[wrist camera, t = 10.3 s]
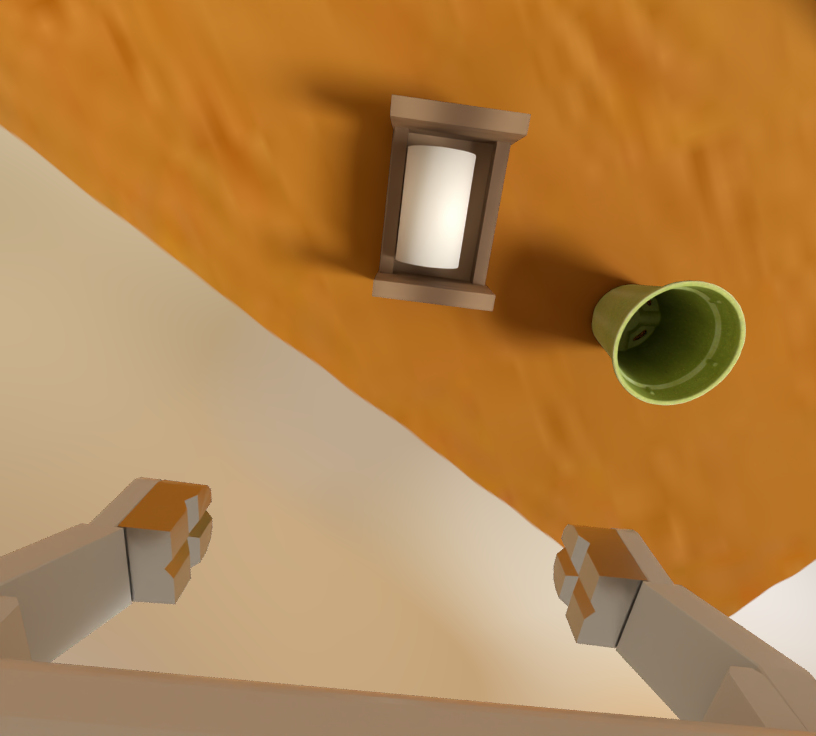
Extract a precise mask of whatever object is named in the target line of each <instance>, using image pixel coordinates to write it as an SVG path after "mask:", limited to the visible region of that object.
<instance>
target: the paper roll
mask: <svg viewBox="0 0 816 736" xmlns="http://www.w3.org/2000/svg"><path fill="white" fill-rule="evenodd" d="M475 160H476V155H475V154H473V153H470V152H466V151H462V150H457V149H452V148H447V147H439V146H425V145H412V146H408V152H407V161H406V170H405V179H404V188H403V196H402V205H401V214H400V223H399V232H398V241H397V250H396V260H397V261H400V262H404V263H408V264H413V265H418V266H423V267H431V268H446V269H454V268H458V266H459V259H460V253H461V247H462V241H463V234H464V228H465V222H466V216H467V209H468V203H469V197H470V191H471V184H472V178H473V172H474V166H475Z"/></svg>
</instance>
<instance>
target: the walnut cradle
mask: <svg viewBox="0 0 816 736" xmlns="http://www.w3.org/2000/svg"><path fill="white" fill-rule="evenodd" d="M530 116H531V114H525V113H518V112H511V111H504V110H497V109H490V108H483V107H476V106H469V105H462V104H455V103H448V102H441V101H434V100H427V99H420V98H413V97H406V96H399V95H392V100H391V110H390V118H391V122H392V127H393V139H392V149H391V159H390V169H389V178H388V188H387V198H386V208H385V218H384V227H383V237H382V247H381V257H380V266H379V271H378V273H377V275H376V276H375V278H374V282H373V293H372V296H375V297H383V298H391V299H399V300H407V301H415V302H423V303H431V304H439V305H446V306H454V307H462V308H470V309H478V310H486V311H493V307H494V301H495V296H496V295H495V294H494V293H493V292H492V291H491V290H490V289H489V288H488V287H487V286H486V285H485V281H486V275H487V270H488V265H489V259H490V254H491V248H492V243H493V237H494V232H495V227H496V221H497V216H498V210H499V205H500V199H501V194H502V189H503V183H504V178H505V172H506V167H507V161H508V156H509V151H510V145H512V144H513V143H515V142H517V141H518V140H520V139H521V138H523V137H525V136H526V135H527V132H528V126H529V121H530ZM412 145H425V146H439V147H447V148H452V149H457V150H462V151H466V152H470V153H473V154H475V155H476V160H475V166H474V172H473V178H472V184H471V191H470V197H469V203H468V209H467V216H466V222H465V228H464V234H463V241H462V247H461V253H460V259H459V266H458V268H454V269H446V268H431V267H423V266H418V265H413V264H408V263H404V262H400V261H397V260H396V250H397V241H398V232H399V223H400V214H401V205H402V196H403V188H404V179H405V170H406V161H407V152H408V146H412Z"/></svg>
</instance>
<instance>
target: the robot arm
mask: <svg viewBox="0 0 816 736" xmlns="http://www.w3.org/2000/svg"><path fill="white" fill-rule="evenodd" d="M211 502H212V499H211V489H210V488H209V486H208V485H201V484H192V483H185V482H178V481H170V480H161V479H152V478H143V477H140V478H137V479H135V480H133V481H132V482H131V483H130V484H129V486H127V487H126V488H125V489H124V490H123V491H122V492H121V493H120V494H119V495H118V496H117V497H116V498H115V499H114V500H113V501H112V502H111V503H110V504H109V505H108V506H107V507H106V508H105V509H104V510H103V511H102V512H101V513H100V514H99V515H98V516H96V517H95V518H94V519H93V521H92V522H90V523H89V524H79V525H76V526H74V527H71V528H69V529H67V530H64V531H62V532H59V533H57V534H54V535H52V536H50V537H47V538H45V539H43V540H40V541H38V542H35V543H33V544H30V545H28V546H26V547H23V548H21V549H18V550H16V551H13V552H11V553H9V554H6V555H4V556H2V557H0V736H816V680H815V679H814V677H813V676H812V675H811V674H810V673H809V672H807V670H805V669H804V668H802V667H801V666H799V665H798V664H796V663H795V662H793V661H792V660H790V659H789V658H788V657H786V656H784V655H783V654H782V653H780V652H779V651H777V650H776V649H774V648H773V647H771V646H770V645H768V644H767V643H765V642H764V641H763V640H761V639H760V638H758V637H757V636H755V635H754V634H752V633H751V632H749V631H748V630H746V629H745V628H743V627H742V626H740V625H739V624H738V623H736V622H735V621H733V620H732V619H730V618H729V617H727V616H726V615H724V614H723V613H721V612H720V611H718V610H717V609H716V608H714V607H713V606H711V605H710V604H708V603H707V602H705V601H704V600H702V599H701V598H699V597H698V596H696V595H695V594H694V593H692V592H691V591H689V590H688V589H686V588H685V587H683V586H682V585H675V584H674V583H673V582H672V580H671V579H670V578H669V576H668V575H667V573H666V572H665V571H664V569H663V568H662V566H661V565H660V564H659V562H658V561H657V559H656V558H655V556H654V555H653V554H652V552H651V551H650V549H649V548H648V547H647V545H646V544H645V542H644V541H643V540H642V538H641V537H640V535H639V534H638V533H637V532H635V531H634V530H630V529H618V528H610V529H608V528H598V527H589V526H579V525H569V524H568V525H567V526H566V528H565V529H564V532H563V535H562V538H561V539H562V541H563V543H564V545H565V548H564V549H562V550H561V551H560V552H559V553H557V555H556V559H555V563H554V583H555V588H556V591H557V594H558V597H559V598H560V599H561V600H562V601H563V602H564V603H565V604H566V605H567V606H568V609H567V612H566V618H567V620H568V623H569V625H570V628H571V631H572V633H573V636H574V638H575V641H576V643H579V644H587V645H596V646H603V647H611V648H616V651H617V652H618V653H619V654H620V655H621V656H622V657H623V658H624V659H625V661H626V662H627V663H628V664H629V665H630V666H631V667H632V668H633V669H634V670H635V671H636V672H637V673H638V675H639V676H640V677H641V678H642V679H643V680H644V681H645V682H646V683H647V684H648V685H649V686H650V687H651V688H652V690H653V691H654V692H655V693H656V694H657V695H658V696H659V697H660V698H661V699H662V700H663V701H664V702H665V703H666V705H667V706H668V707H669V708H670V709H671V710H672V711H673V712H674V713H675V714H676V715H677V717H678V718H679V719H680V720H677V719H667V718H656V717H644V716H633V715H622V714H610V713H598V712H587V711H577V710H566V709H555V708H545V707H534V706H523V705H512V704H500V703H491V702H479V701H469V700H458V699H447V698H436V697H424V696H414V695H403V694H390V693H380V692H370V691H358V690H347V689H337V688H325V687H314V686H303V685H291V684H281V683H269V682H259V681H248V680H237V679H226V678H215V677H204V676H192V675H181V674H171V673H159V672H149V671H138V670H126V669H115V668H104V667H94V666H83V665H72V664H61V663H50V662H52V661H53V660H54V659H56V658H57V657H59V656H60V655H61V654H63V653H64V652H66V651H67V650H68V649H70V648H71V647H73V646H74V645H75V644H77V643H78V642H79V641H81V640H82V639H84V638H85V637H86V636H88V635H89V634H91V633H92V632H93V631H95V630H96V629H97V628H99V627H100V626H102V625H103V624H104V623H106V622H107V621H109V620H110V619H111V618H113V617H114V616H115V615H117V614H118V613H120V612H121V611H122V610H124V609H125V608H127V607H128V606H129V605H130V604H132V601H134V602H149V603H164V604H176V602H177V600H178V599H179V597H180V595H181V594H182V592H183V591H184V589H185V587H186V586H187V584H188V582H189V581H190V579H191V569H190V568H191V567H193V566H195V565H196V564H198V563H200V562H201V560H202V558H203V557H204V555H205V553H206V551H207V548H208V545H209V542H210V539H211V534H212V517H211V516H210V515H209V513H208V512H207V511H206V509H207V508H208V506H209V505H210V503H211Z"/></svg>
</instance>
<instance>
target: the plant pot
mask: <svg viewBox="0 0 816 736" xmlns="http://www.w3.org/2000/svg"><path fill="white" fill-rule="evenodd" d="M649 300H651V305H650V306H649V305H648V303H647V301H649ZM643 330H646V333H645V334H644V335H643V336H642V337H641V338H640V339H638V340H635V341H634V340H633V339H634V338H635V337H636V336H638V335H639V334H640V333H641V332H642V331H643ZM592 331H593V334H594V336H595V338H596V339H597V341H598V342H599V343H600V344H601V346H602V347H603V348H604V349H605V351H606V352H607V353H608V355H609V356H610V357H611V359H612V364H613V368H614V372H615V374H616V377H617V378H618V380H619V382H620V383H621V385H622V386H623V387H624V388H625V389H626V390H627V391H628V392H629V393H630V394H631V395H633V396H634V397H636V398H638V399H640V400H642V401H644V402H647V403H651V404H657V405H674V404H680V403H684V402H688V401H691V400H693V399H695V398H698V397H700V396H702V395H703V394H705V393H707V392H708V391H709V390H711V389H713V388H714V387H715V386H716V385H718V384H719V383H720V382H721V381H722V380H723V379H724V378H725V377H726V376H727V375H728V373H729V372H730V371H731V369H732V368H733V366H734V365H735V363H736V361H737V360H738V358H739V356H740V353H741V350H742V348H743V345H744V341H745V334H746V326H745V319H744V315H743V312H742V309H741V307H740V305H739V304H738V302H737V301H736V300H735V299H734V297H733V296H732V295H731V294H730V293H728V292H727V291H726V290H724V289H723V288H721V287H719V286H716V285H714V284H711V283H707V282H701V281H680V282H675V283H671V284H668V285H665V286H662V287H661V286H647V285H636V284H631V285H623V286H619V287H616V288H614V289H612V290H611V291H609V292H608V293H606V294H605V295H604V296H603V297H602V298H601V299H600V300H599V302H598V303H597V305H596V307H595V309H594V313H593V319H592Z"/></svg>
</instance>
